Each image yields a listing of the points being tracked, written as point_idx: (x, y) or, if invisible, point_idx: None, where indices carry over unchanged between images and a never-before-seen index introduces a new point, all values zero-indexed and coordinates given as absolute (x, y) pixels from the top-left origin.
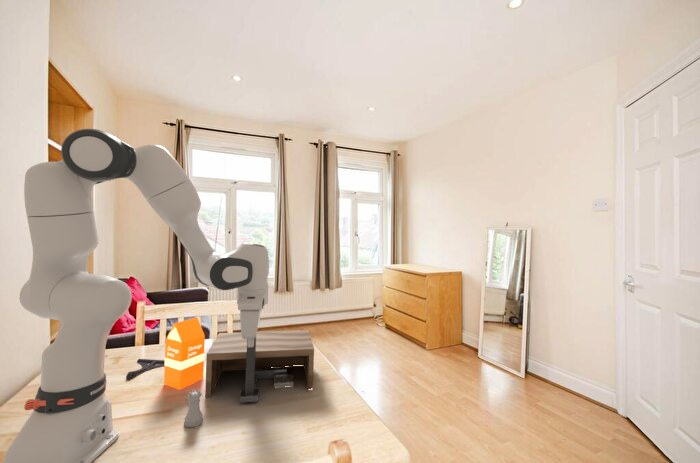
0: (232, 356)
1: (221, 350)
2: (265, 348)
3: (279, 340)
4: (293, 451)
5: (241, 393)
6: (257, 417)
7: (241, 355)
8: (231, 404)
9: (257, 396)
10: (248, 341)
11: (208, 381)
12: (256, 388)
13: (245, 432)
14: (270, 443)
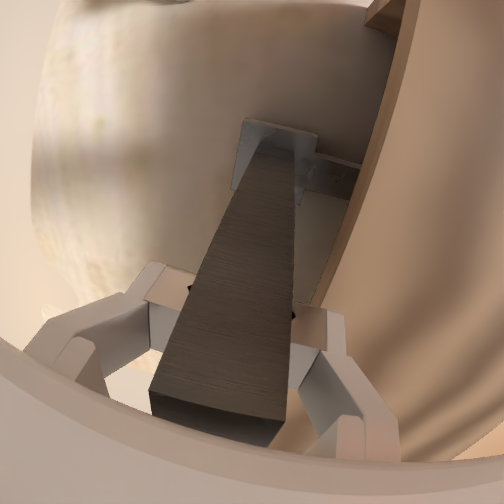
0: (382, 115)
1: (473, 51)
2: (352, 345)
3: (424, 406)
4: (41, 219)
5: (274, 130)
6: (158, 165)
7: (363, 183)
8: (272, 89)
9: (231, 186)
10: (125, 298)
11: (379, 2)
12: (301, 195)
13: (99, 128)
14: (59, 182)
